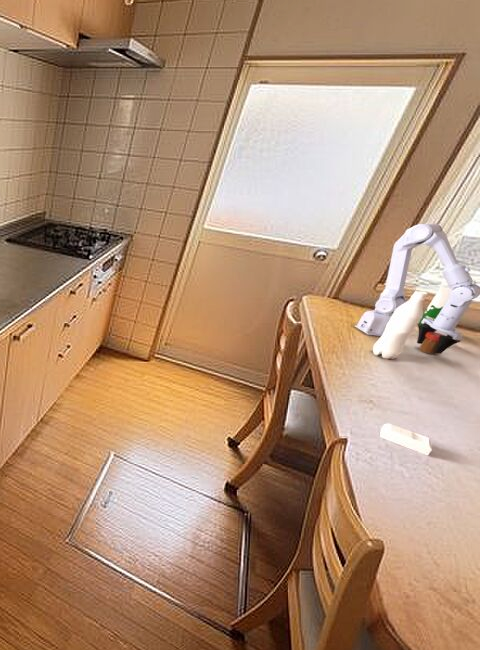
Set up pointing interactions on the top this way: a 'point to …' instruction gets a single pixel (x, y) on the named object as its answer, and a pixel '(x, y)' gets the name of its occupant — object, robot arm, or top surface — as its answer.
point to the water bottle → (400, 326)
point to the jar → (428, 346)
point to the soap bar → (406, 438)
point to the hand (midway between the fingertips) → (428, 348)
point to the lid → (433, 336)
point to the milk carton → (437, 303)
